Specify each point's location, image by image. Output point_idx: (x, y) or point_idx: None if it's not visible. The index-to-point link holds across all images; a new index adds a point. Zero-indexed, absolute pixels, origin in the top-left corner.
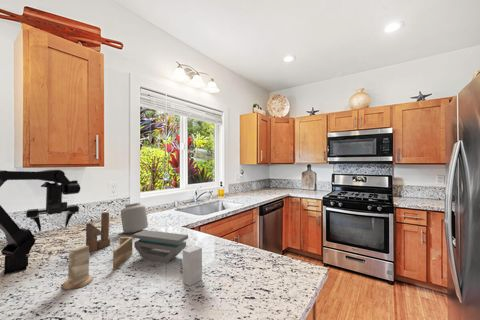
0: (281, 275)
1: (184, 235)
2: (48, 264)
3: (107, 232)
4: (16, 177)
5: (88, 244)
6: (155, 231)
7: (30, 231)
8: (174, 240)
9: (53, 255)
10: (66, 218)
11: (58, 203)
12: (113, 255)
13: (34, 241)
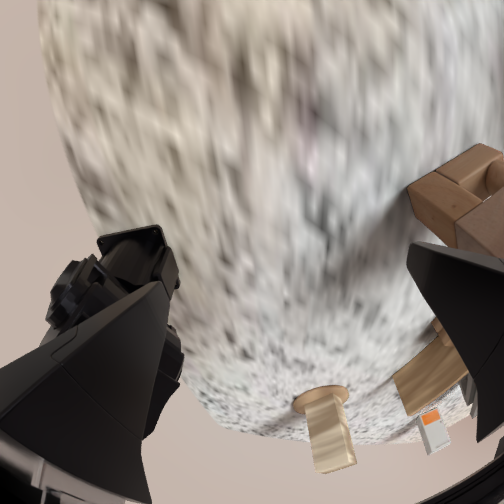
0: (468, 409)
1: None
2: (254, 269)
3: None
4: None
5: (433, 225)
6: None
7: (152, 429)
8: (472, 416)
9: (263, 140)
10: (477, 334)
11: None
12: (404, 405)
13: (181, 359)
